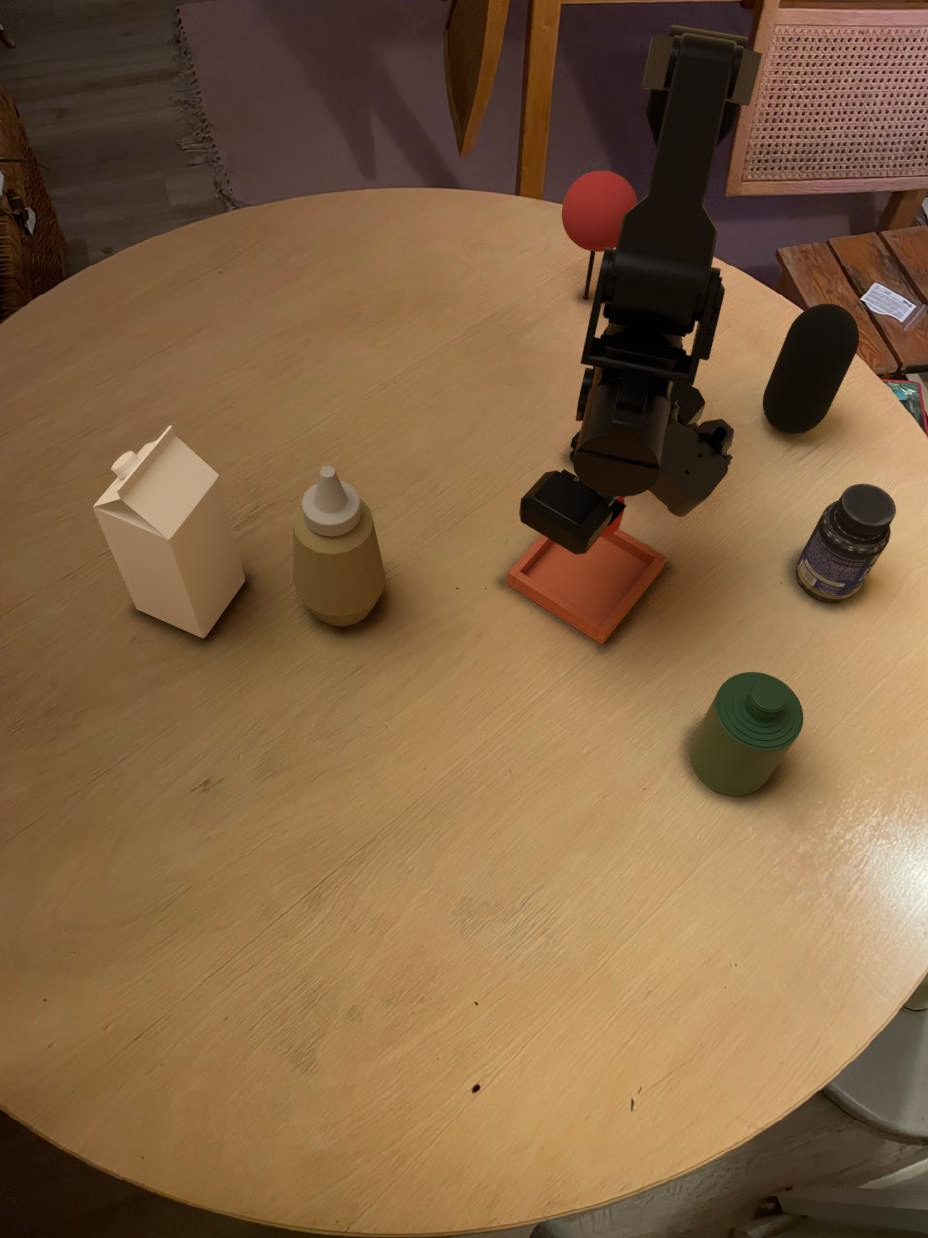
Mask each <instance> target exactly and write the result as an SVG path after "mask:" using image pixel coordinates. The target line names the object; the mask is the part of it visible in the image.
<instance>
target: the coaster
mask: <svg viewBox="0 0 928 1238" xmlns="http://www.w3.org/2000/svg"><path fill="white" fill-rule="evenodd" d="M666 561H667V556H666V555H665V554H664V553H662V552H660V551H658V550H656V549H654V548H653V547H651V546H649V545H648V544H646V543H644V542H643V541H641V540H639V539H637V538H635V537H634V536H632V535H631V534H629V533H627V532H626V531H624V530H623V529H620V527H619V528H618V530H617V531H616V532H614V533H613V534H611V535H608V536H603V537H599V538H598V540H597V541H596V542H595V543H594V544H593V546H592V547H591V548H590V549H589V550H588V551H587V553H586V554H578V555H575V554H573V553H572V552H570V551H568V550H567V549H565V548H563V547H562V546H560V545H559V544H557V543H555V542H554V541H552V540H550V539H549V538H547V537H545V536H544V535H542V534H541V535H540V536H539V537H538V538H537V539H536V540H535V542H534V543H533V544H532V545H531V546H530V547H529V548H528V549H527V551H526V552H525V553H524V554H522V556H521V557H520V558H519V559H518V560H517V562H515V564H514V565H513V566H512V567H511V568H510V569H509V571H508V572H507V577H506V585H507V586H509V587H510V588H512V589H514V590H515V591H517V592H518V593H520V594H522V595H523V596H524V597H526V598H528V599H529V600H531V601H533V603H536V604H537V605H538V606H540V607H542V608H544V609H545V610H547V611H548V612H550V613H551V614H552V615H555V616H556V617H558V618H560V619H561V620H563V621H564V622H566V623H567V624H569V625H571V626H572V627H574V628H575V629H577V630H578V631H580V632H581V633H583V634H585V635H586V636H588V637H589V638H591V639H592V640H594V641H595V642H597V643H599V644H601V645H604V643H605V642H606V641H607V639H608V638H609V637H610V636H611V634H612V633H614V631H615V629H616V628H617V627H618V626H619V624H620V623H621V622H622V621H623V619H624V618H625V617H626V616H627V615H628V613H629V612H630V610H632V608H633V607H634V606H635V604H636V603H637V602H638V601H639V599H640V598H641V597H642V596H643V594H644V593H645V592H646V590H647V589H648V588H649V587H650V586H651V584H652V583H653V582H654V581H655V579H656V578H657V577H658V576H659V574H660V573H661V572H662V570H663V569H664V567H665V564H666Z"/></svg>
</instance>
